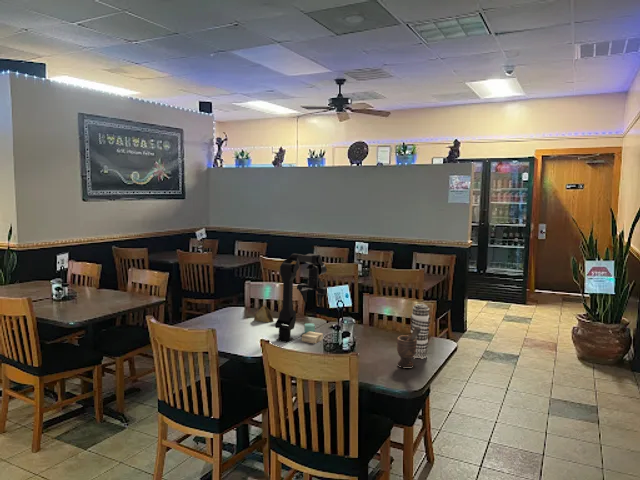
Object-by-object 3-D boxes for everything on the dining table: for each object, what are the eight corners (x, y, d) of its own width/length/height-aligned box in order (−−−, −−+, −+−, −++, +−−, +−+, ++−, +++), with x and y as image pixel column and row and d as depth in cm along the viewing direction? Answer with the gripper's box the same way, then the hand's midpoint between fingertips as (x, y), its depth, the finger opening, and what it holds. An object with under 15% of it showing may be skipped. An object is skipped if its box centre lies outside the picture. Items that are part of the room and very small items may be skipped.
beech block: (315, 344, 243) (315, 337, 243) (301, 341, 247) (301, 334, 247) (322, 340, 250) (322, 333, 250) (309, 337, 254) (309, 331, 254)
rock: (248, 317, 281) (259, 318, 274) (255, 304, 284) (265, 305, 277) (261, 325, 287) (271, 327, 280) (267, 312, 291) (277, 314, 283)
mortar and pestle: (424, 367, 215) (427, 324, 212) (416, 373, 208) (418, 328, 206) (401, 361, 221) (403, 319, 219) (392, 366, 215) (394, 323, 212)
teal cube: (305, 335, 257) (305, 326, 257) (304, 332, 262) (304, 323, 262) (314, 335, 258) (314, 326, 257) (313, 332, 263) (313, 323, 262)
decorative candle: (414, 351, 236) (416, 301, 234) (431, 356, 230) (434, 305, 228) (404, 356, 229) (407, 304, 227) (422, 360, 223) (425, 308, 221)
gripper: (335, 276, 269) (334, 304, 270) (308, 272, 280) (307, 298, 281) (323, 279, 260) (322, 307, 261) (296, 274, 271) (295, 301, 272)
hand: (312, 303), depth 269 cm, fingers open, 9 cm apart
